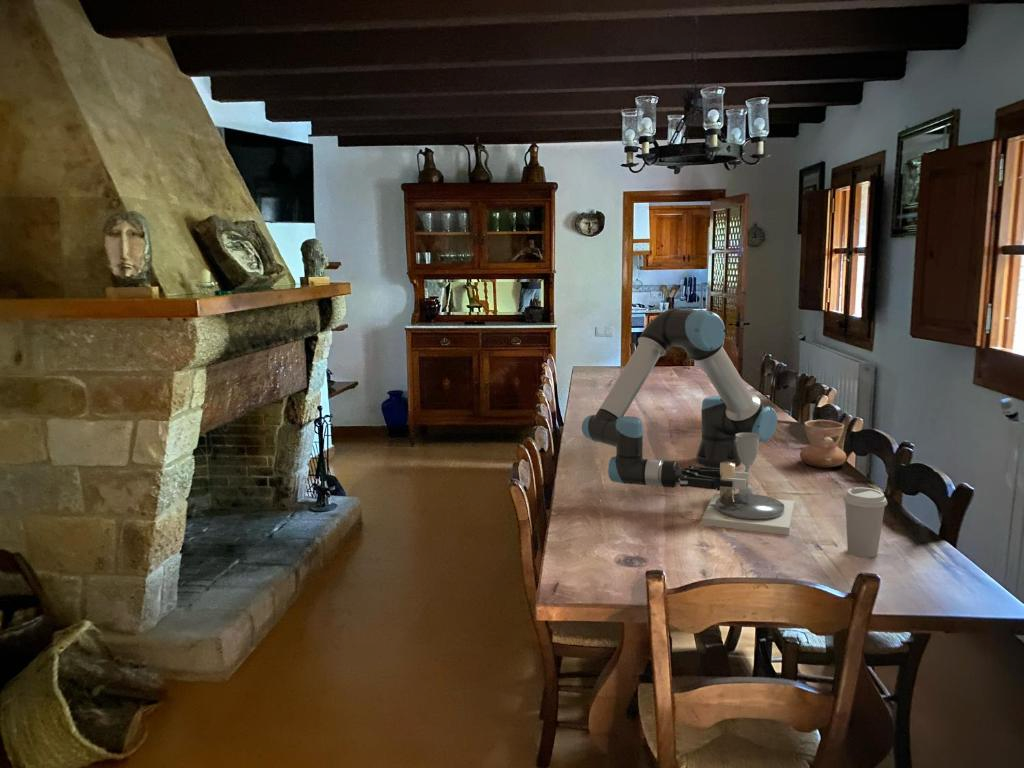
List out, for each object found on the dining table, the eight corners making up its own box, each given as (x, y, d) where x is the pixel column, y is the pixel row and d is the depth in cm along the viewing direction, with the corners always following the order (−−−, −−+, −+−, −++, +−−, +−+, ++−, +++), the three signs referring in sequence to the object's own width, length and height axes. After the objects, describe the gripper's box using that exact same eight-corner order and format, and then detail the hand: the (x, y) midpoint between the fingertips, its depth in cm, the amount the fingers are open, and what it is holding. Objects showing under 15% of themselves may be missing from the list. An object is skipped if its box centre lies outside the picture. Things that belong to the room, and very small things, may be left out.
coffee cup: (871, 543, 185) (874, 485, 183) (892, 559, 176) (896, 498, 173) (833, 545, 185) (836, 487, 182) (852, 561, 176) (855, 499, 173)
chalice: (742, 498, 222) (743, 438, 219) (729, 491, 228) (730, 433, 225) (763, 495, 224) (765, 436, 221) (750, 488, 230) (752, 431, 227)
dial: (720, 495, 218) (721, 454, 216) (786, 501, 211) (787, 459, 209) (710, 515, 202) (711, 471, 200) (781, 522, 195) (782, 477, 193)
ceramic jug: (850, 472, 243) (853, 430, 241) (803, 471, 246) (804, 429, 244) (840, 457, 260) (841, 417, 258) (795, 456, 264) (797, 417, 261)
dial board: (714, 499, 221) (714, 492, 221) (794, 507, 213) (794, 499, 212) (701, 525, 202) (701, 517, 201) (788, 535, 193) (789, 526, 192)
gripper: (669, 477, 224) (750, 484, 215) (655, 496, 207) (742, 504, 198) (669, 452, 223) (751, 458, 213) (655, 469, 206) (743, 477, 197)
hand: (746, 481), depth 206 cm, fingers open, 6 cm apart
